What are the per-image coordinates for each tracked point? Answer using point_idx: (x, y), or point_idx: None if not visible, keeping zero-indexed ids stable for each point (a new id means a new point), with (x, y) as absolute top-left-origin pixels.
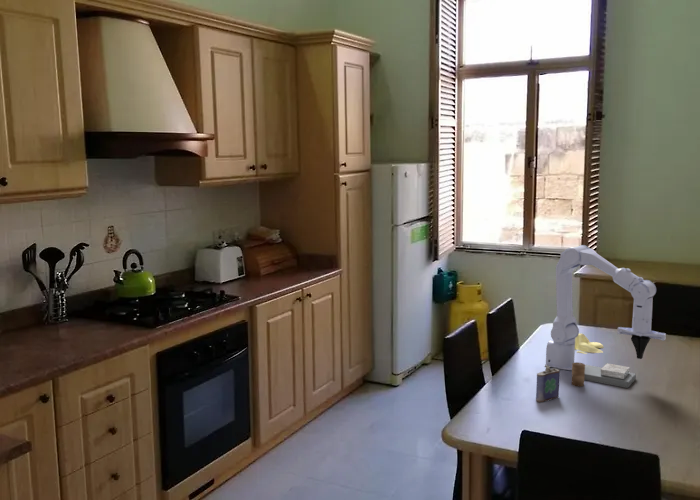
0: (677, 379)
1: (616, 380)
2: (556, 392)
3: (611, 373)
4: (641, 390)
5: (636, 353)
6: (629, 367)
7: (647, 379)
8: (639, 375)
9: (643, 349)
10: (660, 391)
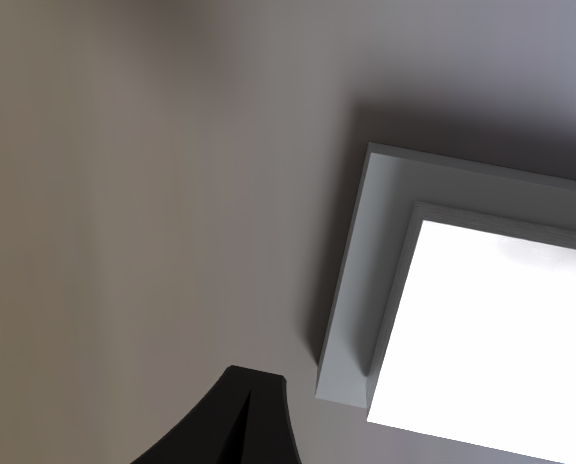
0: (58, 447)
1: (482, 172)
2: None
3: (548, 236)
4: (258, 124)
5: (287, 417)
6: (369, 414)
7: None
8: None
9: (148, 452)
10: (119, 161)
